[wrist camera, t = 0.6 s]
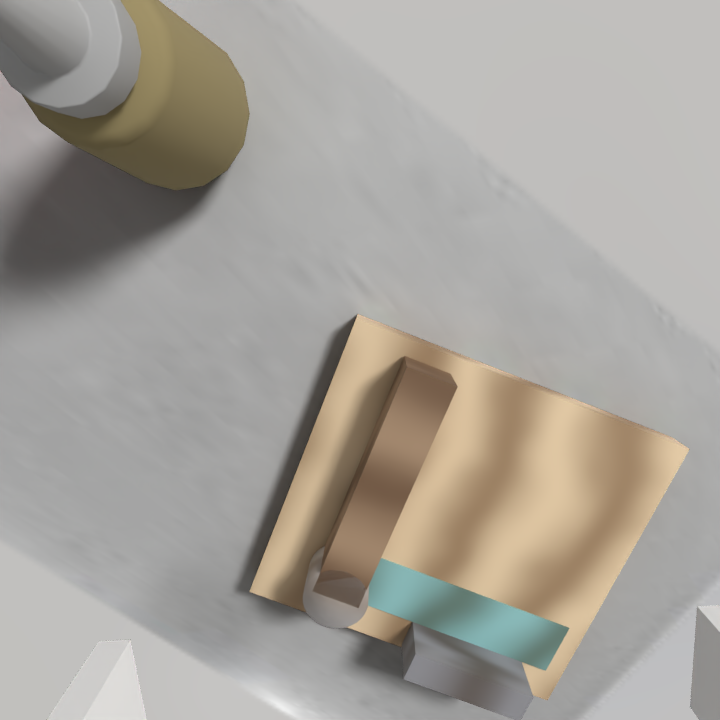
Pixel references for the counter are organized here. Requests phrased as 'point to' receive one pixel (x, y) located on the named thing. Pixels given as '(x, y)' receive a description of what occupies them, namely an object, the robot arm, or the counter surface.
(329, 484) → the wooden flat board
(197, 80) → the squeeze bottle
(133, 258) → the counter surface
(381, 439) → the hinged leg
